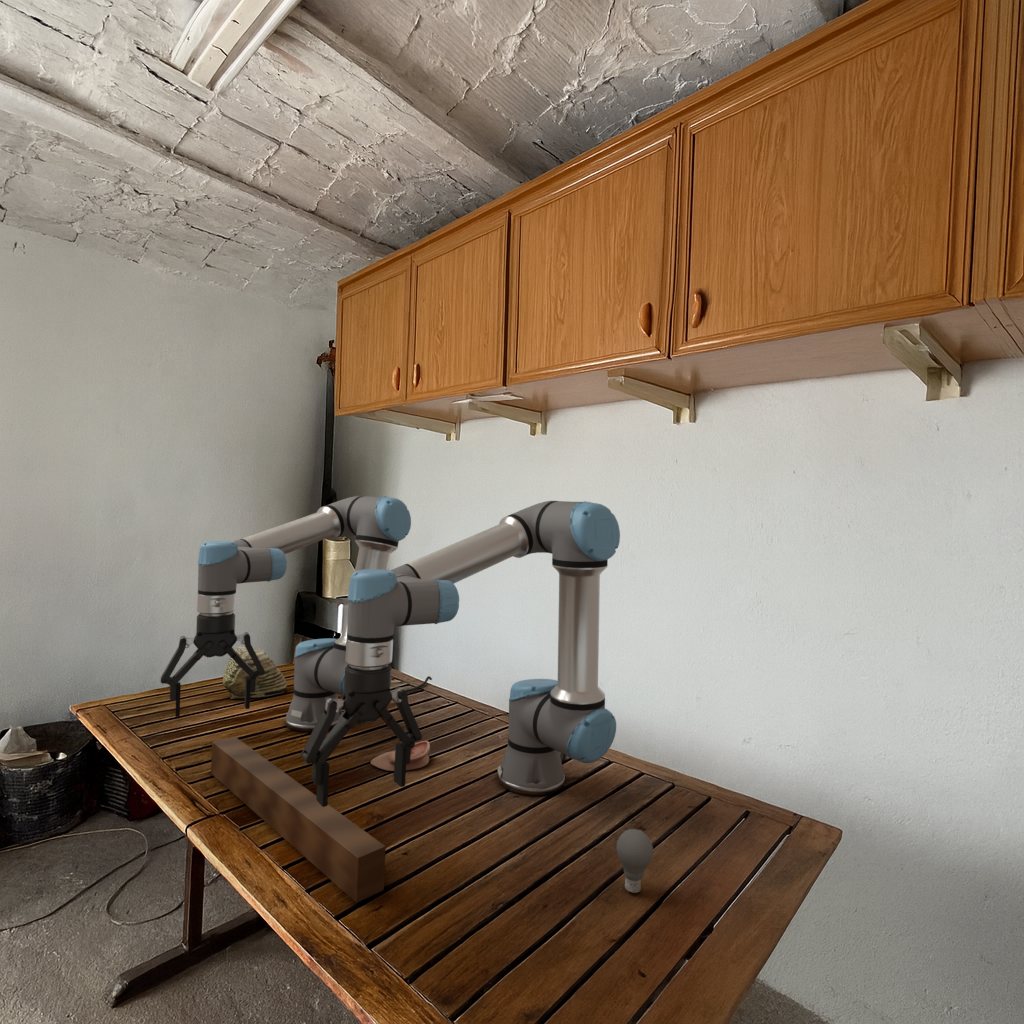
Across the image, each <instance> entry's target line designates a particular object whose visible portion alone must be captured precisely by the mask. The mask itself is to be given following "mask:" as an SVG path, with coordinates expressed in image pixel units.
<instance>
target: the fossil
mask: <svg viewBox="0 0 1024 1024" xmlns="http://www.w3.org/2000/svg"><path fill="white" fill-rule="evenodd" d="M253 649H254V651H255V653H256V655H257V657H258V659H259V661H260V663H261V665H262V666H263V668H264V670H265V673H264V674H263V675H259V676H257V677H256V687H255V692H251V693H250V699H251V698H264V697H271V696H275V695H281V694H284V693H285V691H286V689H287V687H288V686H287V680H286V678H285V676H284V674H283V673H282V672H281V669H279V668H278V667H277V665H276V663H275V662H274V660H273V659H272V658H271V657H270V656H269V655H268V654H267V653H266V652H265V650H264V649H263V648H260V647H258V648H253ZM234 650H235V651H236V652H237V654H238V655H239V656H240V657H241V658H242V659H243V660H244V661H245V662H246V663H247V664H248V665H249V666H250V667H251V668H252V669H253V670H255V669H257V668H256V666H255V664H254V662H253V660H252V658H251V657H250V655H249V653H248V651H247V649H246V647H245V646H238V647H237V648H236V649H234ZM222 676H223V677H222V685H223V687H224V688H225V690H226V691H228V693H229V698H230V699H245V676H249V675H248V674H247V673H246V672H245V671H244V670H243V669H242V668H241V667H240V666H239V665H238V664H237V663H236V662H235V661H234V660H233V659H232V658H231V657H230V656H229V659H228V660H227V663H226V666H225V668H224V671H223V675H222Z"/></svg>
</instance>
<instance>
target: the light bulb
mask: <svg viewBox="0 0 1024 1024" xmlns="http://www.w3.org/2000/svg"><path fill="white" fill-rule="evenodd" d="M615 849H616V854H617V857H618V859H619V861H620V863H621V865H622V867H623V873H624V874H623V875H624V876H625V878H624V888H625V890H627V891H628V892H630V893H634V894H635V893H639V892H640V891H641V889H642V887H641V886H642V879H643V877H644V875H645V871H646V868H647V867H648V866H649V864H650V863H651V861H652V859H653V855H654V847H653V843H652V841H651V838H649V836H648V835H647V834H646V833H645V832H643V831H642V830H641V829H636V828H629V829H627V830H625V831H623V832H622V833H621V834H620V835H619V837H618V839H617V841H616V847H615Z"/></svg>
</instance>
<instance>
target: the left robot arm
mask: <svg viewBox="0 0 1024 1024" xmlns="http://www.w3.org/2000/svg"><path fill="white" fill-rule="evenodd" d="M411 526H412V516H411V512H410V510H409V509H408V507H407V505H406V504H405V503H404V501H402V500H401V499H399V498H397V497H392V496H391V497H390V496H375V495H374V496H371V495H370V496H369V495H368V496H367V495H355V496H350V497H346V498H343V499H340V500H338V501H335V502H332V503H330V504H327V505H323V506H321V507H319V508H318V509H317V511H316V512H313V513H311V514H309V515H306V516H303V517H300V518H297V519H295V520H291V521H289V522H286V523H283V524H280V525H277V526H275V527H271V528H268V529H266V530H263V531H260V532H256V533H254V534H251V535H247V536H244V537H242V538H240V539H236V540H233V541H232V540H230V541H229V540H207V541H203V542H202V543H201V544H200V546H199V552H198V559H197V565H198V569H197V571H198V572H197V598H196V599H197V600H196V601H197V602H196V612H197V613H199V614H197V616H196V630H195V631H196V632H195V636H194V637H187V636H185V635H182V636H180V637H179V641H178V647H177V648H176V650H175V652H174V654H173V655H172V657H171V659H170V661H169V662H168V664H167V665H166V667H165V669H164V670H163V673H162V674H161V676H160V684H163V685H165V684H166V685H168V686H169V700H170V701H175V712H174V713H175V715H174V716H175V718H179V717H180V716H181V715H180V714H181V687H182V684H181V680H182V679H183V678H184V677H185V676H186V674H187V673H188V672H190V670H191V669H192V668H193V667H194V666H196V664H197V662H198V661H200V660H202V658H203V657H205V658H207V659H208V658H214V657H218V658H220V657H224V656H226V655H228V656H229V658H230V657H231V658H232V659H233V660H234V661H235V662H236V663H237V664H238V665H239V666H240V667H241V668H242V669H243V670H244V671H245V672H246V673H247V674H248V675H249V676H245V698H244V708H245V710H250V705H251V698H250V693H251V692H255V687H256V677H257V676H259V675H263V674H264V673H265V670H264V668H263V666H262V665H261V663H260V661H259V659H258V657H257V655H256V653H255V651H254V649H255V648H254V647H253V645H252V643H251V642H252V641H251V635H250V633H249V632H247V631H245V632H244V633H241V634H237V635H236V614H235V613H234V612H235V611H236V605H237V604H236V603H237V602H236V601H237V600H236V598H237V586H238V585H239V584H247V583H260V582H270V581H278V580H280V579H282V578H283V577H284V576H285V574H286V572H287V568H288V559H287V556H286V555H287V554H290V553H292V552H295V551H297V550H300V549H302V548H305V547H308V546H310V545H313V544H315V543H318V542H320V541H323V540H330V541H331V540H336V539H338V538H342V537H355V540H354V543H356V545H357V547H358V553H357V559H356V564H355V567H354V572H355V571H358V570H364V569H374V570H377V569H379V570H389V564H390V559H391V555H392V553H393V552H395V551H396V550H398V547H399V543H400V541H402V540H404V539H405V538H406V536H408V535H409V533H410V530H411V528H412V527H411ZM237 584H238V585H237ZM347 627H348V607H347V608H346V613H345V618H344V622H343V627H342V632H341V636H339V638H331V637H329V638H317V639H316V638H315V639H308V640H304V641H301V642H299V643H298V644H297V645H296V646H295V652H294V656H293V658H294V670H293V671H294V672H293V695H292V696H293V697H292V699H291V702H290V704H289V708H288V711H287V713H286V715H285V726H286V728H287V729H289V730H291V731H294V732H295V731H296V732H301V733H312V731H313V729H314V727H315V725H316V723H317V721H318V719H319V717H320V715H321V713H322V711H323V705H324V700H325V698H327V697H330V698H331V699H339V695H340V696H343V695H344V678H345V667H346V666H347V665H348V664H347V663H346V662H345V657H346V641H347ZM237 641H238V642H239V643H240V644H241V645H244V647H246V649H247V651H248V653H249V655H250V657H251V658H252V660H253V662H254V664H255V666H256V668H257V669H255V670H253V669H252V668H251V667H250V666H249V665H248V664H247V663H246V662H245V661H244V660H243V659H242V658H241V657H240V656H239V655H238V654H237V652H236V651H235V650H236V649H234V648H233V647H234V645H235V644H236V643H237ZM192 644H193V645H194V646H195V648H196V650H195V651H194V652H193V654H192V655H191V656H190V657H189V658H188V659H187V660H186V661H185V662H184V664H183V665H182V666H181V667H180V668H179V669H178V670H177V671H176V672H175V673H174V674H173V672H174V671H175V668H176V667H177V665H178V663H179V661H180V660H181V658H182V657H183V654H184V653H185V651H186V649H188V648H190V646H191V645H192ZM172 674H173V675H172ZM432 680H433V678H432V677H431V676H429V675H428V676H427V677H426V678H425V680H424V681H423V682H422V683H421V684H419V685H417V686H415V687H412V688H407V689H405V690H406V691H407V693H409V692H414V691H416V690H419V689H420V688H422V687H424V686H425V685H426V684H427V683H428V681H432ZM343 712H344V708H343V707H341V708H340V709H339V712H338V713H336V714H335V718H334V720H333V722H332V724H331V726H330V728H329V730H332V729H333V727H334V726H335V725H336V723H337V722H338V720H339V717H340V716H341V714H342V713H343Z"/></svg>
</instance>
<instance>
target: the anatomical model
mask: <svg viewBox="0 0 1024 1024" xmlns="http://www.w3.org/2000/svg"><path fill="white" fill-rule="evenodd" d="M430 751H431V743H430V742H429V741H428V740H423V741H417V742H415V746H414V747H413V748H411V759H410V763H409V764H406V771H411V770H415V769H421V768H423V767H425V766H427V765H428V764H429V761H430V757H429V755H428V754H429V753H430ZM370 764H371V765H372V766H373V767H375V768H378V769H380V770H383V771H387V772H394V767H395V749H394V750H391V751H387V752H384V753H381V754H380V755H377V756H376V757H374V758H373V759H371V761H370Z"/></svg>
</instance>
